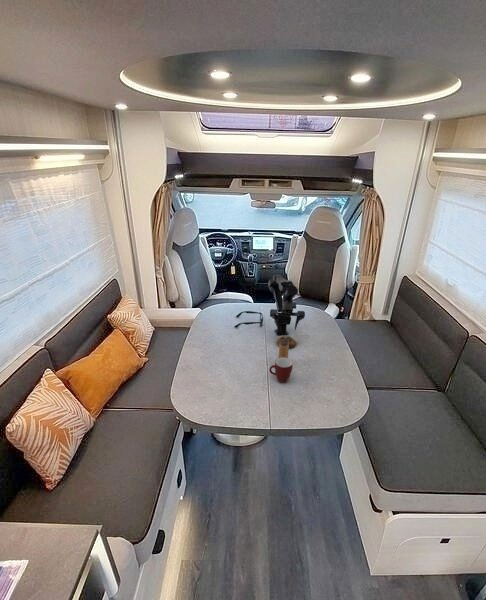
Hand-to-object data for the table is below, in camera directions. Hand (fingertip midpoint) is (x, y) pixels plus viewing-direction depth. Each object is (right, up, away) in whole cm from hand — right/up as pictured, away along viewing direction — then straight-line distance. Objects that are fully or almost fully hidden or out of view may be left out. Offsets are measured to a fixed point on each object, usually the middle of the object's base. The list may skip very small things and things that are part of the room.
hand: (286, 329), depth 166 cm
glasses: (-21, +1, +35) cm, 40 cm away
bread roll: (+1, -10, +12) cm, 15 cm away
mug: (-5, -23, -18) cm, 29 cm away
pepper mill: (-3, -17, -7) cm, 19 cm away
